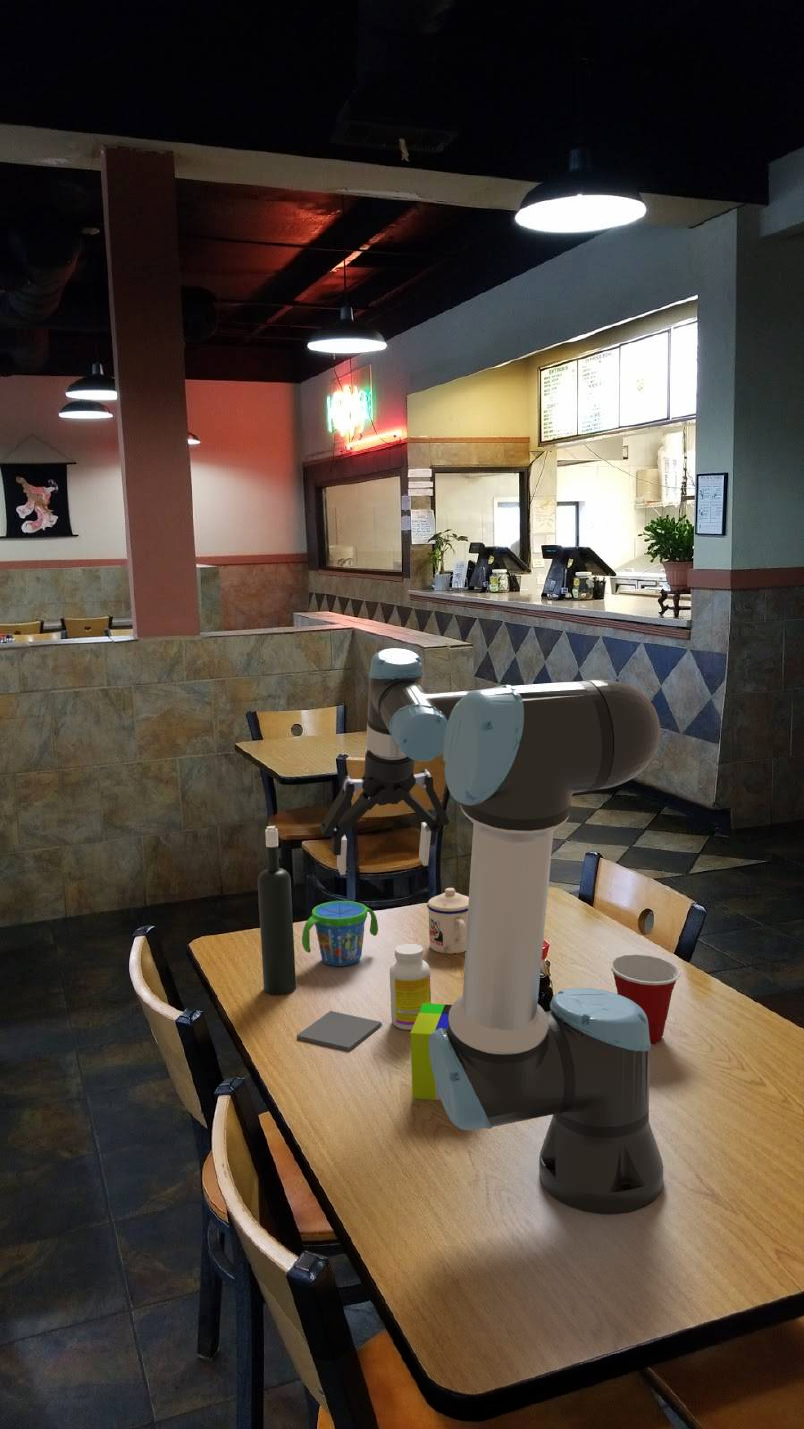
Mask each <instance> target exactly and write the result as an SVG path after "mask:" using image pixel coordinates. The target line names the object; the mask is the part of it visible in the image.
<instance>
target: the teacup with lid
mask: <svg viewBox="0 0 804 1429" xmlns="http://www.w3.org/2000/svg"><path fill="white" fill-rule="evenodd" d="M468 904H469V896H468V895H464V894H461V893H459V892H456V889H455V888H454V887H448V888H447V887H446V888H445V890H444V892H443V893H441V894H439V895H438V894H437V895H436V896H433V897H431V898H430V899H429V900H428V901H427V904H426V906H427V909H428V934H429V935H428V936H429V938H428V939H429V947H430V949H431V950H433V951H435V952H437V953H440V954H449V955H453V954H454V953H456V954H461V953H466V952H465V951H466V937H467V921H468Z"/></svg>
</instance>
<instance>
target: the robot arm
mask: <svg viewBox="0 0 804 1429" xmlns="http://www.w3.org/2000/svg"><path fill="white" fill-rule="evenodd" d="M370 661H371V662H370V669H369V674H368V678H369V682H368V700H367V701H368V703H367V723H366V724H367V725H366V726H367V727H366V739H365V746H366V747H365V757H364V768H363V769H364V773H363V776H362V777H361V779H358V778H357V779H356V778H353V779H352V778H351V776H350V775H346V776H344V777H343V779H342V785H341V789H340V791H339V793H338V795H336V798H335V799H334V801H333V803H332V805H331V806H330V808H329V809H328V811H327V813H326V815H324V816H325V817H324V818H323V820H322V821H321V823H320V830H321V832H322V836H324V837H325V838H330V837H331V850H332V854H333V855H334V856H336V867H337V870H338V873H339V874H340V876H345V875H346V868H347V866H346V865H347V848H348V847H347V846H348V839H347V837H346V835H347V833H348V832H349V831H350V830H351V829H352V828H353V827H354V826H355V825H356V824H357V822H359V820H360V819H362V817H363V816H364V815H365V814H366V813H367V812H368V811H371V810H372V809H373V808H374V807H375V806H376V805H378V806H379V807H380V806H385V805H388V804H389V805H390V804H391V805H399V803H400V802H402V801H403V802H404V803H405V804H406V805H407V806H408V807H410V809H411V810H413V811H414V813H415V814H417V816H418V817H419V818H420V819H421V820H423V822H421V825H420V826H421V827H420V839H419V849H418V850H419V852H418V858H419V860H420V862H421V863H422V864H421V865H422V866H424V867H426V866H429V859H430V847H431V846H435V844H436V842H437V841H436V840H437V833H438V832H439V831H440V827H441V826H442V825H443V826H447V825H449V824H450V820H449V817H448V816H447V813H446V811H445V809H444V807H443V805H442V803H441V801H440V799H439V797H438V795H437V793H436V790H435V789H434V778H433V776H432V775H431V773H430V770H428V769H427V768H425V769H422V770H421V772H420V773H416V774H414V772H415V763H416V762H417V761H418V762H428V761H432V760H433V759H435V758H437V757H439V756H442V757H443V758H442V761H443V762H444V763H445V766H444V769H443V771H444V778H445V783H446V786H447V789H448V790H449V793H450V795H451V797H452V798H453V800H455V801H456V802H458V803H460V809H461V812H462V813H463V814H464V815H465V817H466V818H467V819H468V820H470V822H471V823H473V824H472V825H473V826H472V828H473V829H472V841H471V842H472V843H471V845H472V846H471V857H470V861H471V862H470V874H469V875H470V876H469V890H468V897H469V904H468V921H467V937H466V952H464V955H465V956H464V970H463V971H464V974H463V987H462V989H463V990H462V995H461V996H460V997H459V998H457V999H456V1000H455V1001H454V1002H453V1003H452V1004H451V1005H452V1006H451V1008H450V1011H449V1017H448V1028H446V1029H443V1028H439V1029H438V1030H436V1031H433V1033H432V1034H431V1035H430V1038H429V1052H430V1060H431V1065H432V1070H433V1074H434V1078H435V1082H436V1086H437V1089H438V1092H439V1095H440V1098H441V1100H440V1101H441V1103H442V1106H443V1108H444V1111H445V1112H446V1115H447V1116H448V1118H449V1120H450V1121H451V1123H452V1124H453V1125H454V1126H455V1127H457V1128H459V1129H460V1130H462V1131H472V1130H473V1131H474V1130H481V1129H487V1130H489V1129H492V1128H493V1127H499V1126H503V1125H505V1126H506V1125H509V1124H513V1123H514V1124H515V1123H519V1122H523V1121H528V1120H532V1119H537V1118H543V1117H547V1116H552V1117H551V1120H550V1123H549V1125H548V1129H547V1130H546V1135H545V1138H544V1140H543V1143H542V1146H541V1149H540V1152H539V1160H538V1163H539V1165H538V1166H539V1168H538V1169H539V1171H538V1172H539V1178H540V1182H541V1184H542V1186H543V1187H544V1189H545V1190H546V1191H547V1192H548V1194H550V1195H551V1196H552V1197H554V1198H555V1199H557V1200H558V1201H560V1202H561V1203H563V1204H565V1205H568V1206H571V1207H573V1208H576V1209H579V1210H582V1211H587V1212H593V1213H599V1214H600V1213H601V1214H617V1213H625V1212H631V1211H635V1210H638V1209H641V1208H643V1207H645V1206H647V1205H648V1204H650V1203H652V1202H653V1201H655V1200H656V1199H657V1198H658V1196H659V1195H660V1194H661V1192H662V1190H663V1186H664V1163H663V1162H664V1161H663V1158H662V1155H661V1153H660V1150H659V1147H658V1144H657V1141H656V1138H655V1135H654V1132H653V1129H652V1127H651V1123H650V1110H649V1108H650V1050H651V1047H652V1045H651V1043H650V1037H649V1027H648V1019H647V1016H646V1014H645V1012H644V1011H643V1010H642V1008H641V1007H640V1006H639V1005H637V1004H636V1003H635V1002H633V1001H632V1000H630V999H628V998H626V997H624V996H621V995H618V994H617V992H616V993H615V992H612V991H609V990H604V989H598V988H592V987H571V988H565V989H561V990H560V991H558V992H557V993H555V994H554V995H553V996H552V998H551V1001H550V1003H549V1008H550V1010H549V1011H545V1010H544V1009H543V1007H542V1006H541V1005H540V1004H539V1003H538V1001H539V992H540V980H541V970H542V969H541V968H542V962H543V961H542V958H543V949H544V948H543V947H544V939H545V936H544V935H545V927H546V918H547V917H546V916H547V907H548V906H547V904H548V894H549V885H550V874H551V865H552V864H551V862H552V853H553V852H552V850H553V844H554V843H553V842H554V832H555V830H556V829H558V828H559V827H561V826H562V825H564V824H565V823H567V821H568V820H569V818H570V814H571V806H572V796H573V794H576V793H582V792H590V791H597V790H603V789H610V788H613V787H614V788H615V787H616V786H619V785H623V784H624V783H627V782H628V781H630V780H633V779H634V778H635V777H637V776H638V775H639V774H641V773H642V771H644V770H645V769H646V768H647V766H649V764H650V763H651V762H652V760H653V758H654V757H655V755H656V752H657V750H658V748H659V744H660V738H661V723H660V719H659V716H658V713H657V711H656V710H657V709H656V708H655V706H654V704H653V703H652V701H650V699H649V698H648V697H647V696H646V695H645V694H644V693H642V692H641V691H640V690H639V689H637V688H636V687H633V686H631V685H629V684H626V683H623V682H620V681H615V680H614V681H613V680H607V679H587V680H581V681H566V682H565V681H563V682H551V683H549V682H548V683H537V684H522V685H521V684H520V685H510V684H502V685H497V686H494V687H491V688H490V687H488V688H483V689H476V690H475V689H474V690H473V689H472V690H457V691H443V692H431V693H428V691H427V689H426V688H425V686H423V684H422V677H423V675H424V672H423V661H422V658H421V656H419V654H417V653H415V652H414V651H412V650H409V649H405V648H397V647H396V648H385V649H382V650H380V651H377V652H376V653H375V654H374V655H373V656H372V657H371V660H370ZM415 761H416V762H415ZM416 784H418V785H419V786H420V788H423V789H424V792H425V793H426V796H427V797H428V799H429V801H430V803H431V805H432V807H433V809H434V812H435V815H432V813H431V812H429V810H428V809H427V808H426V807H425V806H424V805H423V804H422V803H421V802H420V801H419V799H417V798H416V797H415V795H413V794H412V793H411V791H412V789H413V788H414V787H415V785H416ZM359 789H362V790H363V791H361V792H360V794H359V796H358V798H357V799H356V800H355V802H354V803H352V805H351V806H350V807H349V805H350V803H351V801H352V800H353V797H354V795H357V792H358V790H359ZM348 807H349V808H348Z"/></svg>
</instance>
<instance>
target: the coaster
mask: <svg viewBox="0 0 804 1429" xmlns="http://www.w3.org/2000/svg"><path fill="white" fill-rule="evenodd" d="M382 1025H383V1024H382V1021H380V1020H379V1021H378V1020H374V1019H370V1018H366V1017H365V1018H364V1017H361V1016H356V1015H351V1014H347V1013H342V1012H337V1011H332V1010H329V1011H328V1012H327V1013H326V1014H324V1015H323V1016H321V1017H320V1018H318V1019H317V1020H316V1021H314V1022H313V1023H312V1024H310V1025H309V1026H308V1027H306V1028H305V1029H303V1030H301V1032H299V1033H298V1034H296V1040H301V1041H305V1042H310V1043H312V1044H318V1045H322V1046H326V1047H329V1048H330V1047H331V1048H334V1049H338V1050H339V1049H340V1050H343V1051H347V1052H350V1051H352V1050H353V1049H354V1048H356V1046H358V1045H359V1044H360V1043H362V1042H363V1041H364V1040H365V1039H366V1038H368V1037H369V1036H370V1035H372V1034H373V1033H374V1032H375V1031H376V1029H377V1030H378V1029H379V1028H380V1027H382Z"/></svg>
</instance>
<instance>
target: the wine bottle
mask: <svg viewBox="0 0 804 1429" xmlns="http://www.w3.org/2000/svg"><path fill="white" fill-rule="evenodd" d="M264 834H265V835H264V836H265V846H266V856H267V857H266V858H267V869H264V870H262V871H261V872H260V873H259V875H258V877H257V892H258V906H259V907H258V909H259V910H258V912H259V926H260V928H259V929H260V944H261V945H260V946H261V962H262V963H261V964H262V977H263V979H262V981H263V982H262V983H263V991H264V993H265V994H268V995H271V996H284V995H289V994H291V993H293V992H294V991H296V988H297V982H296V981H297V980H296V979H297V977H296V976H297V975H296V961H295V960H296V959H295V957H296V956H295V942H294V941H295V938H294V923H293V922H294V920H293V901H292V882H291V881H292V880H291V876H290V873H289V871H287V870H286V869H284V868H281V867H280V862H279V860H280V859H279V832H278V828H276V825H269V826H268V825H267V826H266V829H265V831H264Z"/></svg>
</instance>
